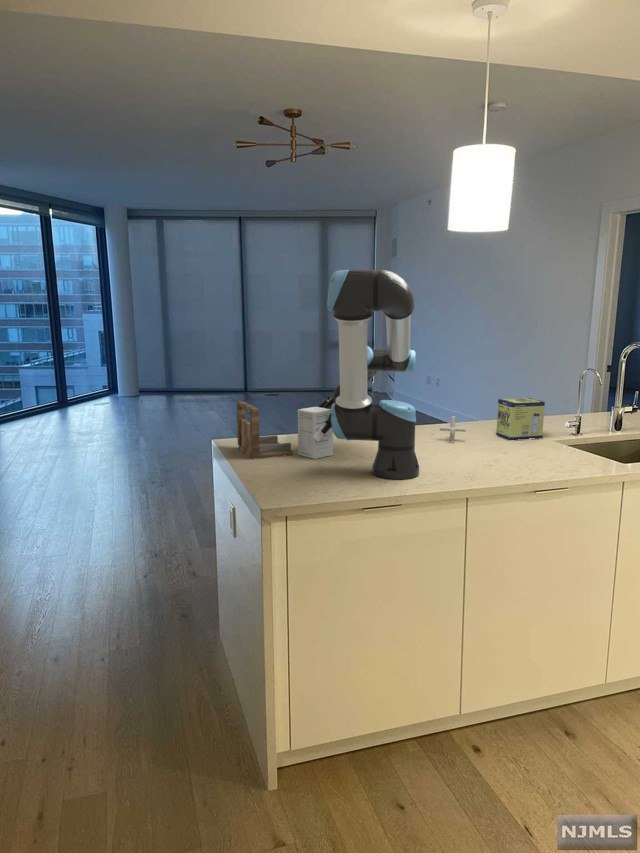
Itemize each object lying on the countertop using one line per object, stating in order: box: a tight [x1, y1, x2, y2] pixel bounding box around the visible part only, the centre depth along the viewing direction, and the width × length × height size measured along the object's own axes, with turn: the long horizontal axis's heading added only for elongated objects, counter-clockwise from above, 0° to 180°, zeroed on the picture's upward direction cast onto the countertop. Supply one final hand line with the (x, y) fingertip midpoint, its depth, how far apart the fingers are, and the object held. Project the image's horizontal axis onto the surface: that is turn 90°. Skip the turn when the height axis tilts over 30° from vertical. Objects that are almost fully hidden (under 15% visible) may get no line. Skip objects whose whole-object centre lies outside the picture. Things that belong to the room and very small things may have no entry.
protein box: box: [495, 397, 546, 441], centre depth 246 cm, size 10×16×16 cm
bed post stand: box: [236, 400, 294, 460], centre depth 220 cm, size 18×15×18 cm
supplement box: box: [297, 406, 334, 460], centre depth 215 cm, size 10×9×17 cm
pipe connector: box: [439, 416, 467, 442], centre depth 239 cm, size 10×10×10 cm
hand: (308, 435), depth 215 cm, fingers closed on supplement box, 11 cm apart
